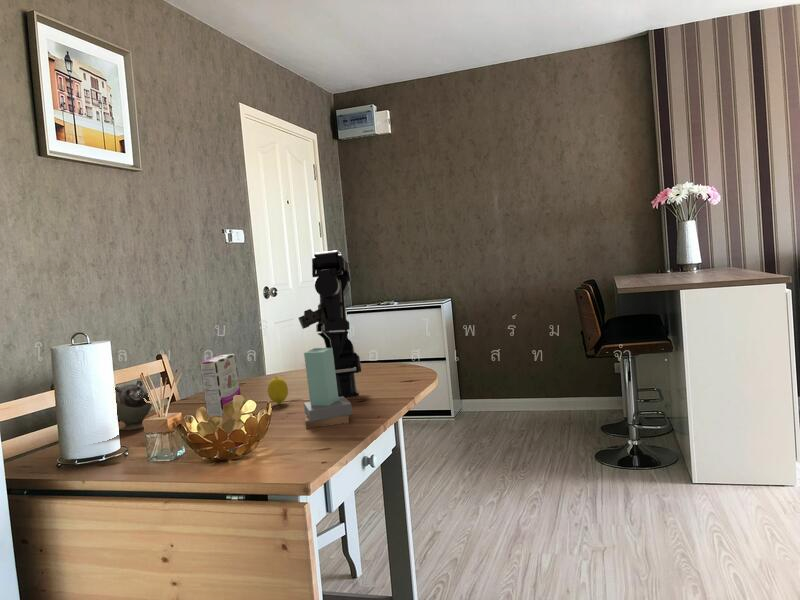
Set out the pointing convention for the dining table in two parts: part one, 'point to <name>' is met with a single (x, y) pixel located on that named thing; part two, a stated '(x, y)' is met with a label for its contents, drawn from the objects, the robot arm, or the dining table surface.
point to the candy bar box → (219, 382)
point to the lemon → (277, 390)
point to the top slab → (328, 410)
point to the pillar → (321, 376)
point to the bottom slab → (327, 421)
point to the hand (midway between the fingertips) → (333, 359)
